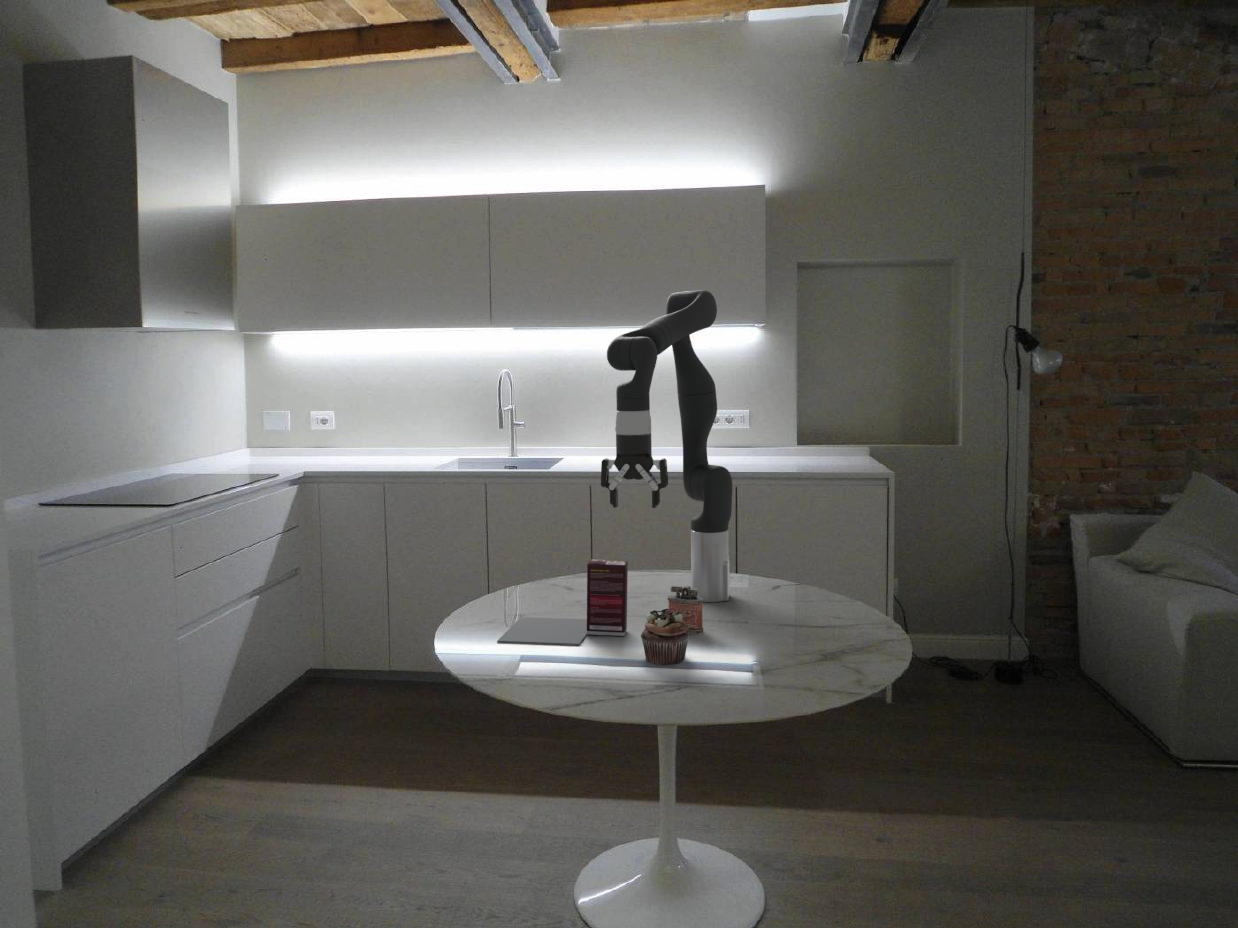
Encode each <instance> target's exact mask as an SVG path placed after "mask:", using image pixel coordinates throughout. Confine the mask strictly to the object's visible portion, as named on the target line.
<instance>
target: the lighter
mask: <svg viewBox="0 0 1238 928" xmlns="http://www.w3.org/2000/svg"><path fill="white" fill-rule="evenodd" d="M670 592H671V593H675V594H670V595H667V601H668V609H669V610H670V613H671V612H672V613H678V614H681V615H682V621H683V622H684V624H685V625H686V630H687V632H688V635H689V634H690V635H692V634H693V635H701V634H703V633H704V627H703V626H704V625H703V624H704V623H703V622H704V621H703V603H704V602H703V598H700V597H697V594H698V589H696V588H692V586H690V585H685V586H684V587H683V586H682V585H671V586H670Z"/></svg>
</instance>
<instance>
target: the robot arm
mask: <svg viewBox="0 0 1238 928" xmlns="http://www.w3.org/2000/svg"><path fill="white" fill-rule="evenodd" d="M665 306H666V307H665V308H666V309H665V312H666V314H665V315H662V316H659V317H656V318H654V319H652V320H650V321H648V322H646V324H644V325H643V326H641V327H640V328H639V329H636V330H632V331H629V332H626V333H623V334H620V335H618V336H616V337H614V339H612V341H611V342H610V343H609V345H608V347H607V350H606V360H607V363H608V364H609V366H611V367H612V368H613V369H614V370H616V371H626V372H627V371H635V372H634V375H633V377H632V379H631V380H630V381H624V382H621V383H620V384H618V385H617V387H616V393H615V394H616V417H615V428H614V429H615V449H616V450H615V453H616V455H615V459H609V458H608V457H607V458H604V459H602V461H601V464H600V465H601V467H600V468H601V469H600V470H601V472H600V486H601V488H606V489H608V490H609V503H610V505H611V506H612V508H618V507H619V489H617V487H618V486H619V484H621V482H622V481H623V479H625V480H627V481H628V480H629V481H630V480H633V479H634V480H643V479H644V480H645V482H646V483H647V484H648V485H649V486H650V487H651V489H652V491H651V508H652V509H657V507H658V506H659V505H660V503H661V489H665V488H666V487H667V486H669V476H668V475H669V473H668V462H667V459H666V458H662V459H653V455H652V453H653V452H652V418H651V411H650V409H651V407H650V405H651V404H650V402H651V401H650V390H651V385H652V381H653V377H654V376H653V375H654V371H655V368H656V365H657V359H658V356H659V355H661V354H662V353H663V352H664V351H666V350H667V349H668V348H670V347H671V349H672V354H673V359H674V366H675V368H674V369H675V374H676V375H675V377H676V389H677V390H676V391H677V400H678V402H677V403H678V408H679V417H680V426H681V427H680V428H681V438H682V439H681V440H682V480H683V481H682V482H683V487H684V491H685V493H686V495H687V497H688V498H690V499H691V500H694V501H697V502H698V501H699V502H703V506H702V507H703V508H702V512H701V513H700V514H698V515H696V516H693V517H692V518H691V520H690V561H691V563H690V565H691V566H690V567H691V569H690V570H691V588H696V589H698V594H697V597H700V598H703V603H707V602H708V603H716V602H728V601H729V598H730V594H731V593H730V556H729V553H730V552H729V549H730V548H729V525H730V524H729V523H730V520H731V518H732V512H733V511H732V510H733V509H732V508H733V490H734V489H733V478H732V475H731V472H730V471H729V470H728V469H727V468H726V467H724V466H723V465H722V466H721V465H716V464H715V465H714V464H709V460H708V447H707V446H708V445H707V444H708V439H709V435H710V433H711V431H712V428H713V426H714V423H715V420H716V418H717V414H718V400H717V391H716V384H715V381H714V379H713V377H712V375H711V374H710V372H709V371H708V369H707V368H706V367H705V365H704V363H702V361H701V360H700V358H699V357H698V356H697V354H696V352H695V349H694V348H693V344H692V341H691V336H690V335H692V334H694V333H696V332H699V331H702V330H705V329H708V328H710V327H711V326H712V325H713V324H714V322H715V321H716V318H717V315H718V313H717V312H718V307H717V301H716V298H715V296H714V295H713V294H712V292H710V291H708V290H704V289H698V290H697V289H696V290H695V289H694V290H685V291H678V292H672V293H671V294H669V296H668V298H667V301H666V305H665ZM613 466H614V467H615V468H616V469H617V471H618V473H617V475H616V476H615V477H614V479H613V480H612V482H611V481H610V470H611V469H612V468H613ZM654 466H655V468H656V469H657V470H659V477H660V478H659V479H660V482H658V481H657V480H656V477H655V476H654V475H653V473H652V472H651V470H652V468H653V467H654Z"/></svg>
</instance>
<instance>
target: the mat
mask: <svg viewBox="0 0 1238 928" xmlns="http://www.w3.org/2000/svg"><path fill="white" fill-rule="evenodd" d="M587 635H588V634H587V618H563V617H562V618H559V617H557V618H556V617H533V616H532V617H531V616H530V617H527V616H521V617H519V618H518V620H516V621H515V622H514V624H512V625H511V626H510V627H509V628H508V629H507V630H506V631H505V632H504V633H503V635H501V636H500V637H499V638H498V639H497V640H496V643H497V642H501V644H502V643H503V642H504V643H503V644H527V645H528V644H529V645H553V646H554V645H555V646H580V645H581V644H582V643H583V641H584V640H585V639H586V638H587Z"/></svg>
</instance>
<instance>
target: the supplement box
mask: <svg viewBox="0 0 1238 928" xmlns="http://www.w3.org/2000/svg"><path fill="white" fill-rule="evenodd" d="M628 562H629V561H628V560H619V559H618V560H617V559H615V560H614V559H595V558H594V559H593V558H590V560H589V561H588V562H587V563H586V566H587V567H586V568H587V570H586V572H587V573H586V575H587V576H586V619H587V635H593V636H594V635H595V636H596V635H597V636H610V637H611V636H614V637H625V635H626V632H627V629H628V628H627V627H628V623H627V622H628V617H627V615H628V573H629V572H628V571H629V570H628Z"/></svg>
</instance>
